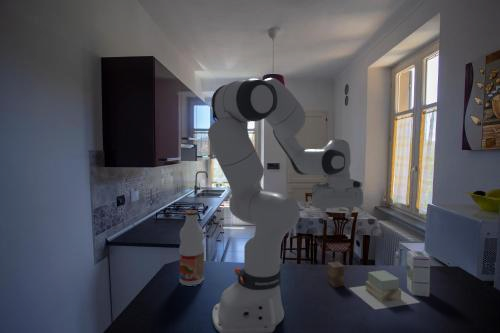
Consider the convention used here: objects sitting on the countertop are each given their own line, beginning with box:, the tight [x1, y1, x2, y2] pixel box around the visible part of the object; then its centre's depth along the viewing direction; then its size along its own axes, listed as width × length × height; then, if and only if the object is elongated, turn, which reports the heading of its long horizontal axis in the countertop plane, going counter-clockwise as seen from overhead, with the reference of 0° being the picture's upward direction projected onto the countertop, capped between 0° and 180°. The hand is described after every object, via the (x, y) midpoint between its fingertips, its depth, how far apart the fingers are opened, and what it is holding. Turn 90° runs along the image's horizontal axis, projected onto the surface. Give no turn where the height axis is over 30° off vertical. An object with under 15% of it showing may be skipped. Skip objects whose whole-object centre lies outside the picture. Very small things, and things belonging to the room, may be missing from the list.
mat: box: [348, 285, 421, 310], centre depth 93 cm, size 18×14×1 cm
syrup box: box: [406, 250, 431, 297], centre depth 95 cm, size 6×6×14 cm
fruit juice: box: [178, 209, 205, 286], centre depth 102 cm, size 9×9×28 cm
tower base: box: [365, 280, 402, 302], centre depth 93 cm, size 8×8×4 cm
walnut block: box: [326, 261, 346, 288], centre depth 101 cm, size 4×4×8 cm
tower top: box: [367, 269, 400, 291], centre depth 93 cm, size 7×7×4 cm
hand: (336, 218), depth 100 cm, fingers open, 8 cm apart
